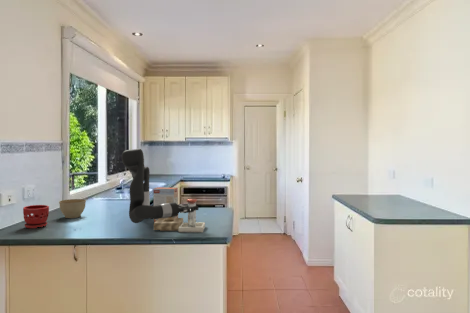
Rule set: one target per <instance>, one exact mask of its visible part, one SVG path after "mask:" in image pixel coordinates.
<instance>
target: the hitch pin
mask: <svg viewBox="0 0 470 313" xmlns="http://www.w3.org/2000/svg"><path fill="white" fill-rule="evenodd" d="M197 201H198V199H197V198H188V199H186V202H187V204H188V206H189V207H191V206H192V207H193V206H197ZM190 210H191V209H190ZM187 223H188V227H196V223H197V210H195V211H194V212H189V213H187Z"/></svg>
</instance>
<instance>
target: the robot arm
mask: <svg viewBox="0 0 470 313" xmlns="http://www.w3.org/2000/svg"><path fill="white" fill-rule="evenodd" d="M121 160H122V161H121V162H122V163H123V166H124V167H126V168H127V170H128V172H130V173H131V176H132V181H131V183H130V185H129V199H130V200H129V208H128V209H129V211H128V215H129V220H130V221H131V222H132V223H133V224H140V222H142V221H143V220H145V219H150V220H154V219H159V218H169V217H175V216H177V215H178V216H179V214H188V213H189V212H194V211H195V210H196V211H199V206H198V205H196V206H193V207H192V206H191V207H189V206H188V203H187V204H186V203H185V204H181V203H178V204H177V203H175V202H174V203H166V204H161V205H154V204H153V205H151V204H150V199H151V198H150V168H149V167H148V166H145V155H144V151H143V150H142V148H134V149H125V150H124V151H123V152H122V153H121ZM190 209H191V210H190Z"/></svg>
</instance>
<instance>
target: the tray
mask: <svg viewBox="0 0 470 313" xmlns="http://www.w3.org/2000/svg"><path fill="white" fill-rule="evenodd" d="M205 228H206V221H205V222H202V221H201V222H197V221H196V227H188V222H183V223H182V224H181V225H180V227H179V230H178V233H204V230H205Z"/></svg>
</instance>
